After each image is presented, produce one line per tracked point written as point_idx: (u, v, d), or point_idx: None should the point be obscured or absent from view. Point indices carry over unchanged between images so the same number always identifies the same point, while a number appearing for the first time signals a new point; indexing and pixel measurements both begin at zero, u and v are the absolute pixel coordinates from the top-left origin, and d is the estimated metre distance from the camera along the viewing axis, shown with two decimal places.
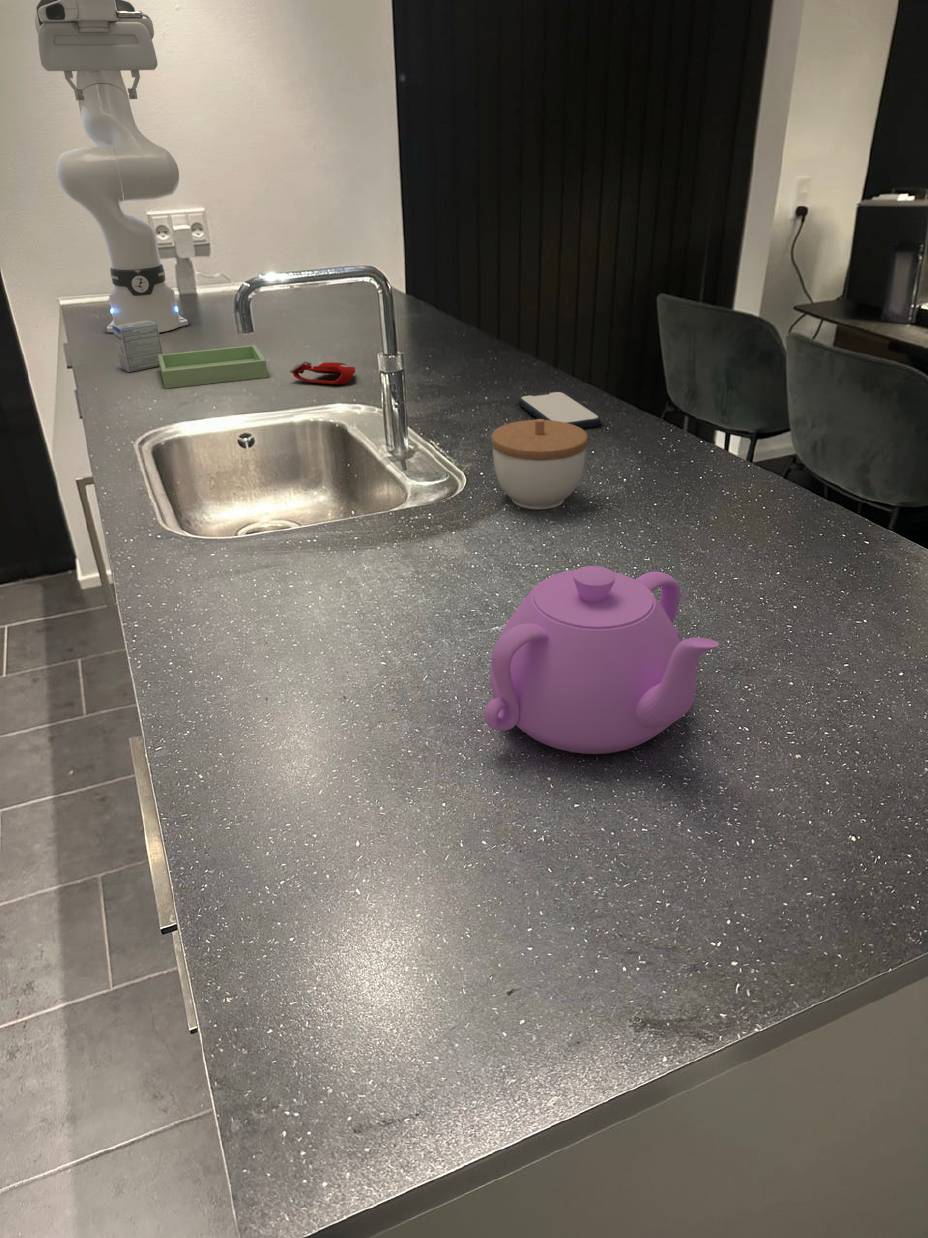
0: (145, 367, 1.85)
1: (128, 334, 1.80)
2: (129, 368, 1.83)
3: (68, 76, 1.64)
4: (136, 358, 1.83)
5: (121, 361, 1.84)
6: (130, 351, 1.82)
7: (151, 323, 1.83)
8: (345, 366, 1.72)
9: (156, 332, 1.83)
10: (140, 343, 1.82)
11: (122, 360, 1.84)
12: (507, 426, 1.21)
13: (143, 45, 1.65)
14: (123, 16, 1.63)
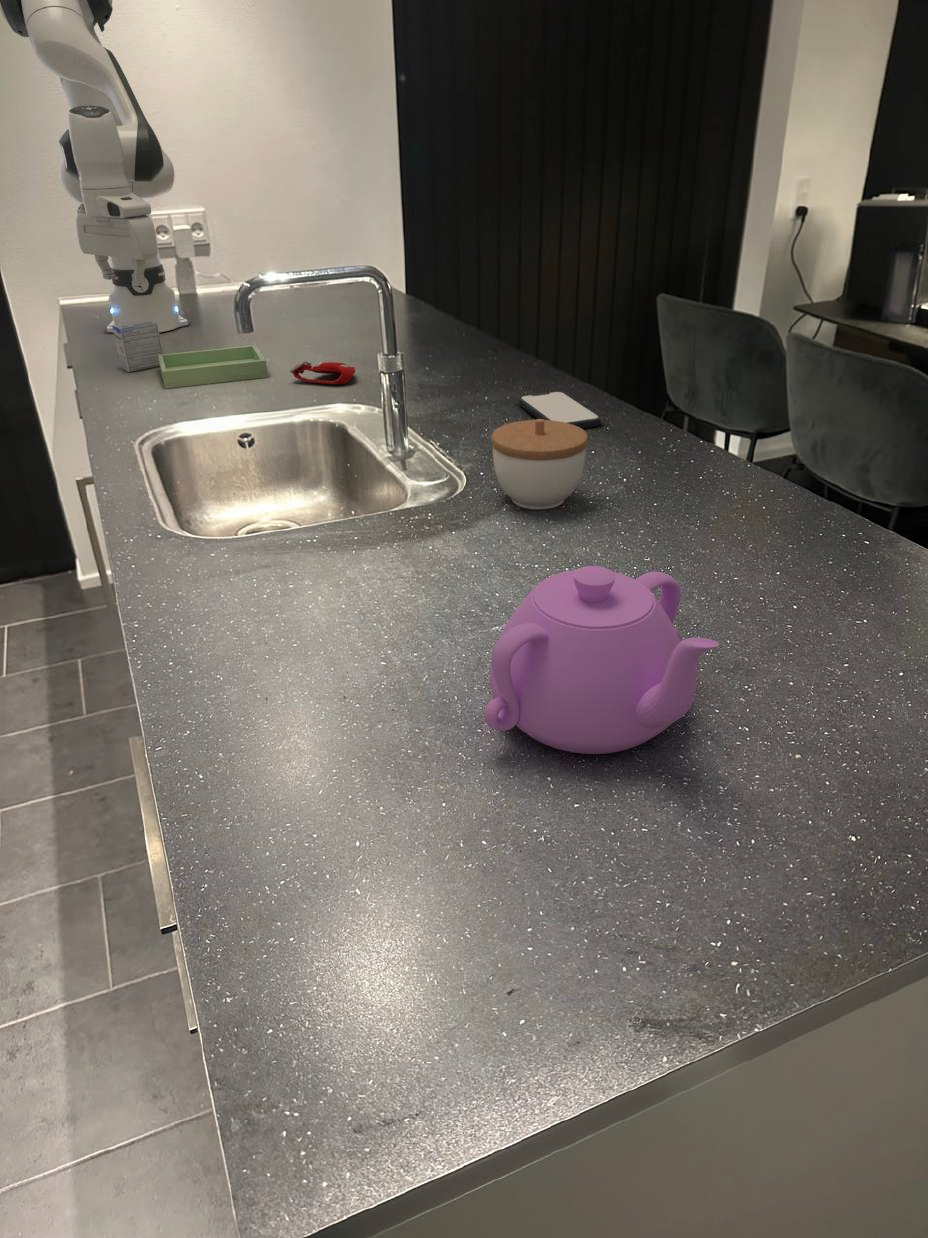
0: (145, 367, 1.85)
1: (128, 334, 1.80)
2: (129, 368, 1.83)
3: None
4: (136, 358, 1.83)
5: (121, 361, 1.84)
6: (130, 351, 1.82)
7: (151, 323, 1.83)
8: (345, 366, 1.72)
9: (156, 332, 1.84)
10: (140, 343, 1.82)
11: (122, 360, 1.84)
12: (507, 426, 1.21)
13: None
14: None
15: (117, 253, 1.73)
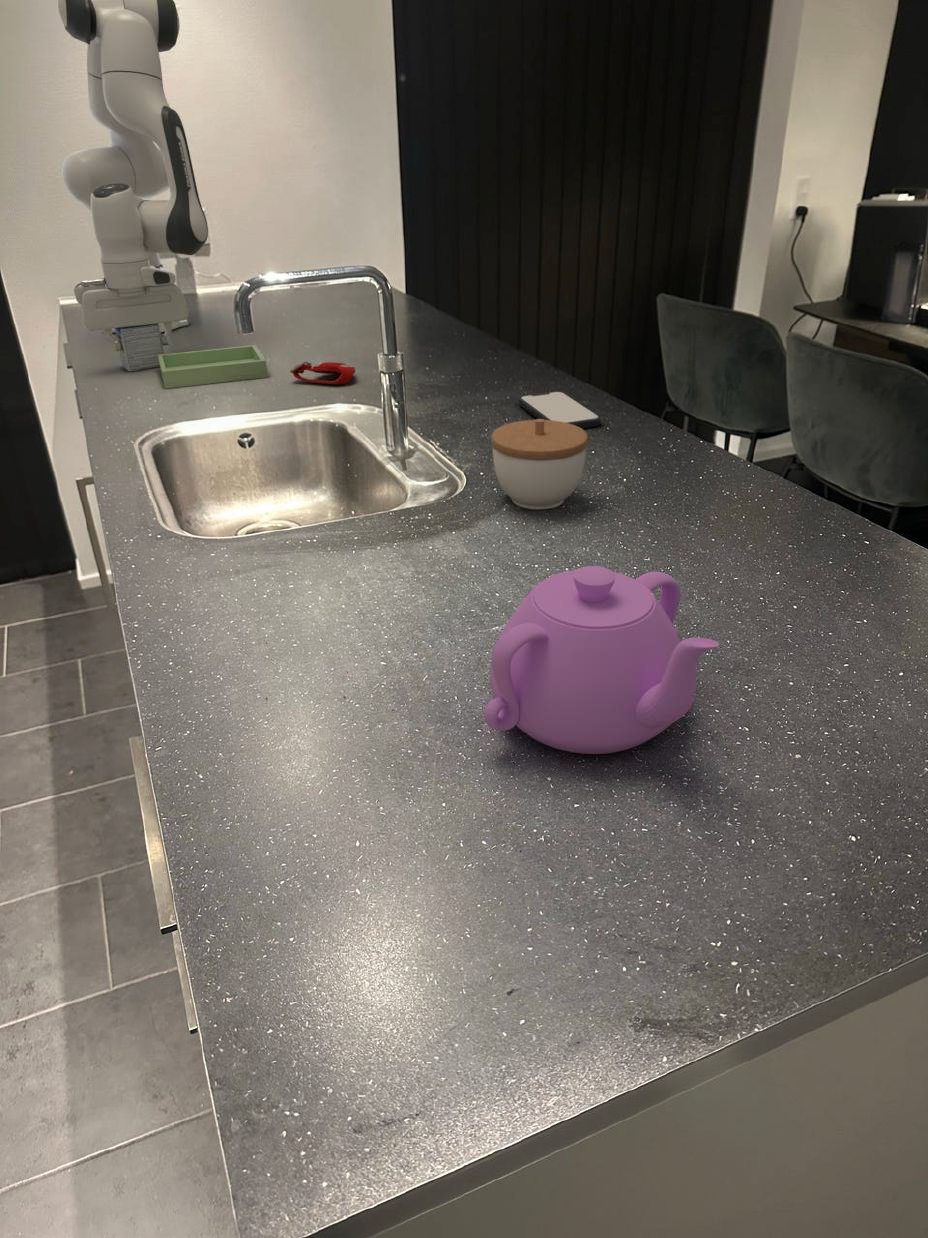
0: (146, 367, 1.85)
1: (129, 334, 1.80)
2: (130, 368, 1.83)
3: None
4: (136, 358, 1.83)
5: (123, 360, 1.85)
6: (130, 351, 1.82)
7: None
8: (345, 366, 1.72)
9: (157, 332, 1.84)
10: (141, 343, 1.83)
11: (123, 360, 1.84)
12: (507, 426, 1.21)
13: None
14: None
15: (149, 320, 1.81)
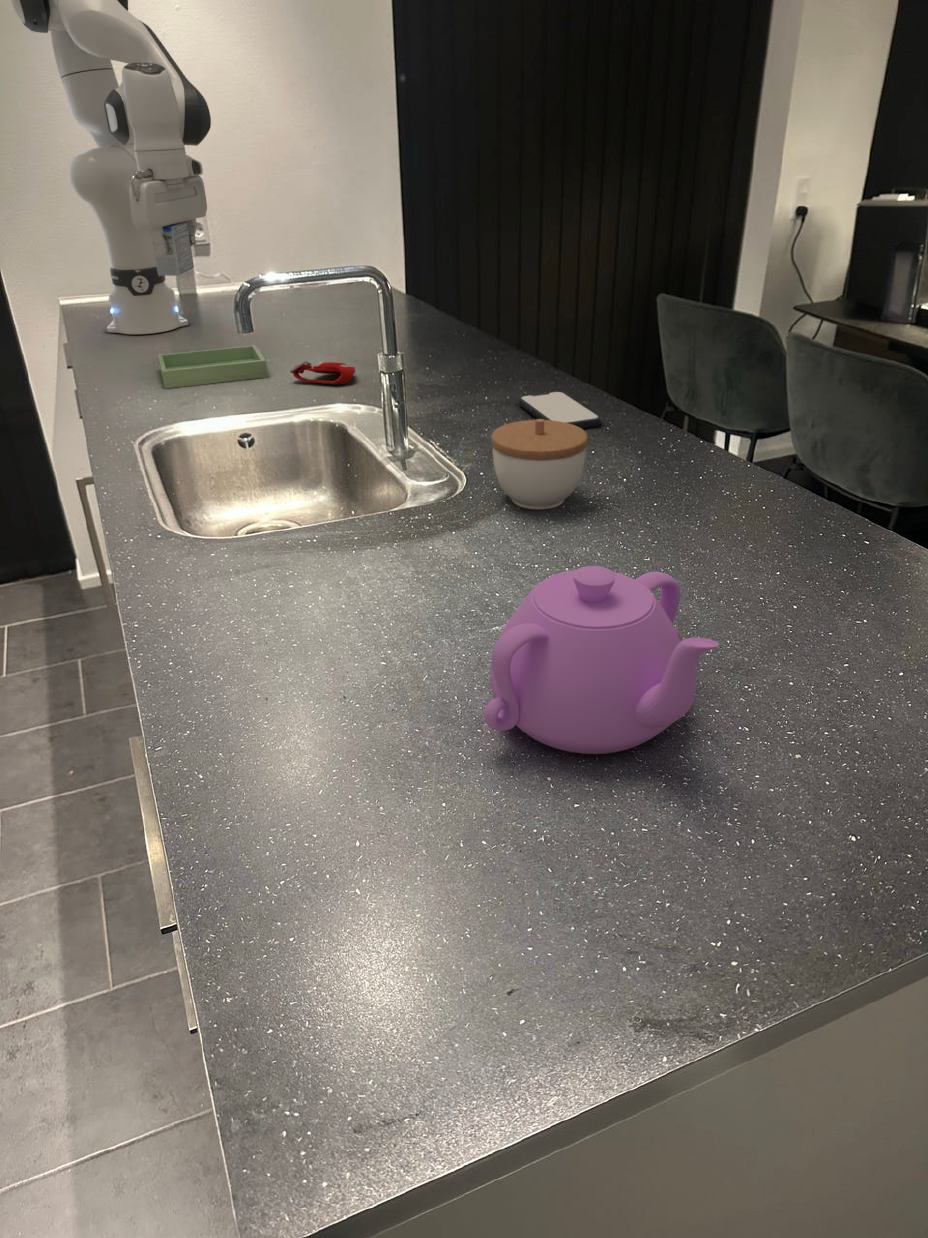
0: (186, 270, 1.72)
1: (176, 232, 1.66)
2: (180, 271, 1.69)
3: None
4: (181, 259, 1.69)
5: (162, 266, 1.68)
6: (178, 251, 1.68)
7: None
8: (345, 366, 1.72)
9: (187, 230, 1.71)
10: (182, 243, 1.69)
11: (166, 264, 1.68)
12: (507, 426, 1.21)
13: None
14: None
15: (187, 216, 1.69)
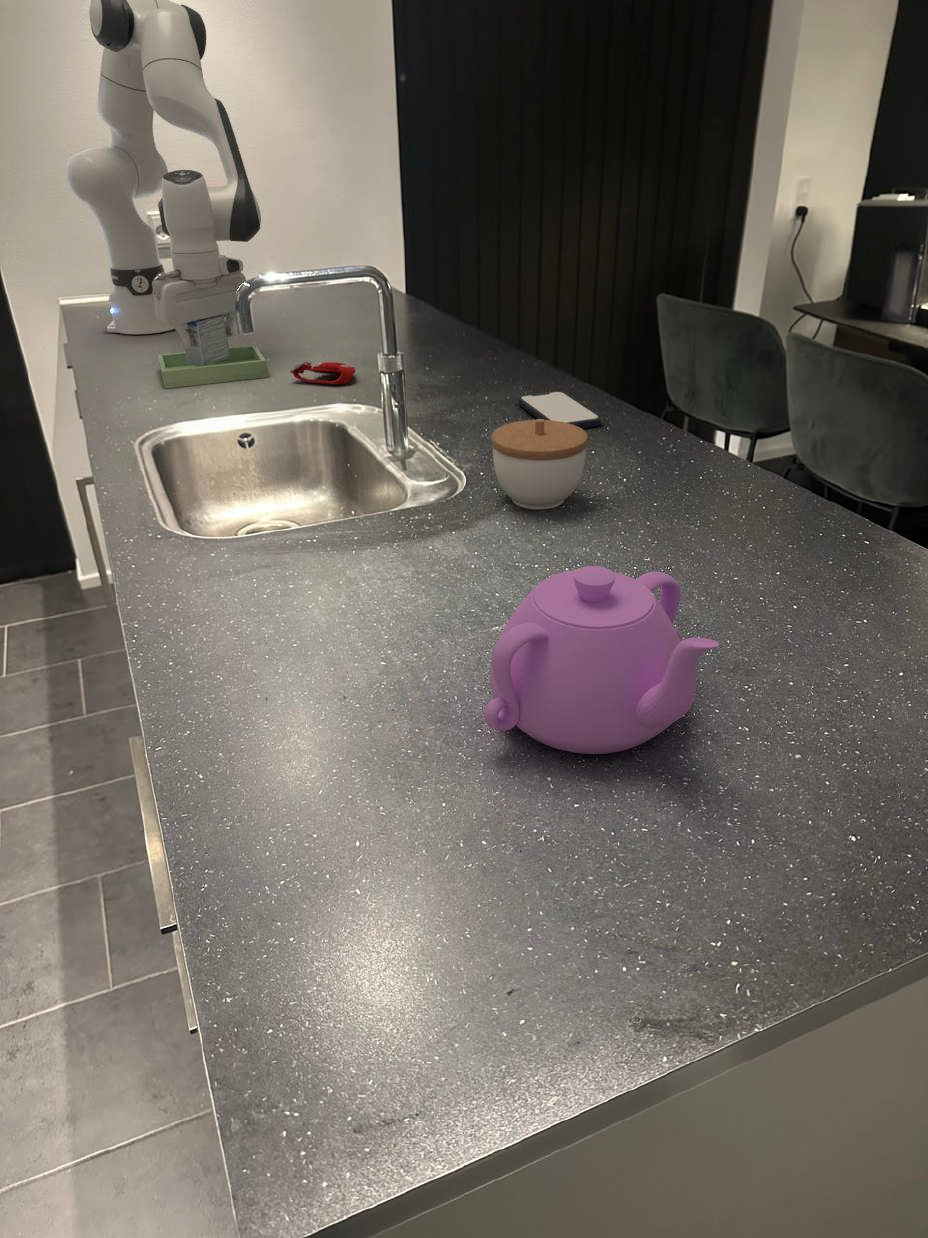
0: (215, 360, 1.79)
1: (203, 326, 1.74)
2: (204, 362, 1.76)
3: None
4: (209, 351, 1.77)
5: (190, 356, 1.77)
6: (204, 344, 1.75)
7: None
8: (345, 366, 1.72)
9: (223, 323, 1.78)
10: (212, 335, 1.76)
11: (193, 355, 1.76)
12: (507, 426, 1.21)
13: None
14: None
15: (220, 311, 1.76)
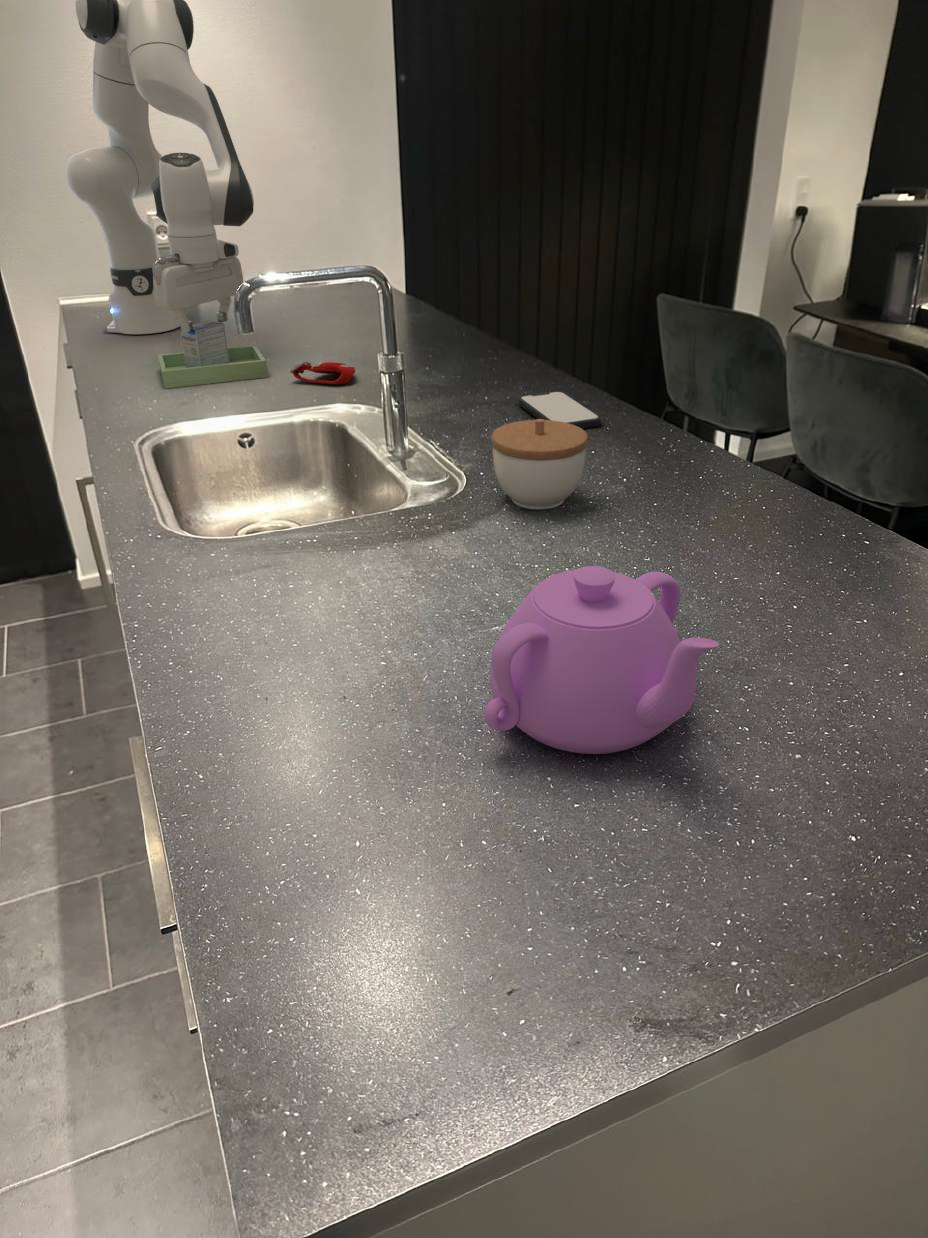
0: None
1: (202, 335, 1.75)
2: None
3: None
4: (207, 359, 1.77)
5: (189, 364, 1.78)
6: (203, 352, 1.76)
7: (218, 323, 1.78)
8: (345, 366, 1.72)
9: (223, 332, 1.79)
10: (211, 344, 1.77)
11: (191, 363, 1.77)
12: (507, 426, 1.21)
13: None
14: None
15: (216, 296, 1.75)
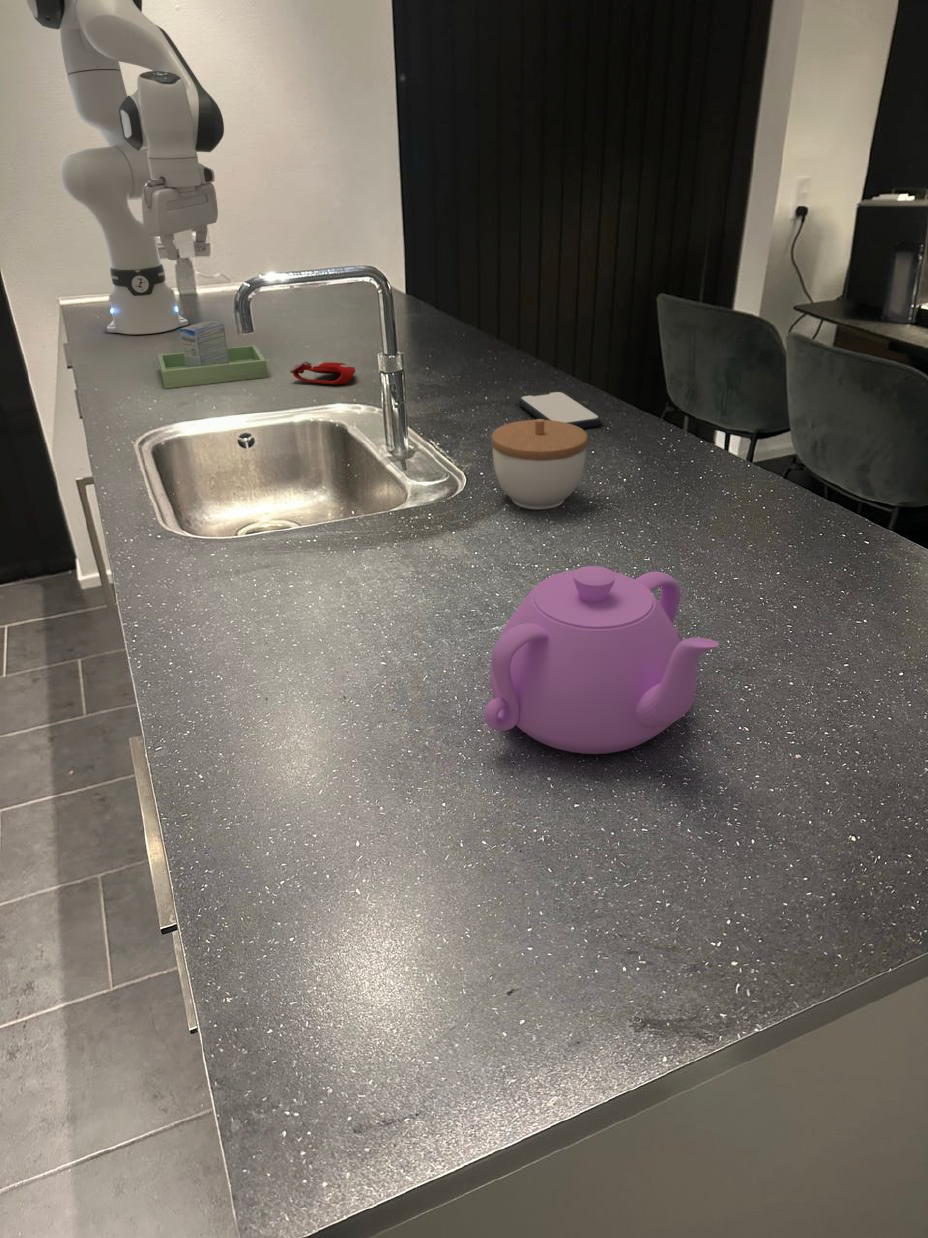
0: None
1: (201, 335, 1.74)
2: None
3: None
4: (207, 360, 1.77)
5: (189, 365, 1.78)
6: (202, 353, 1.76)
7: (217, 323, 1.78)
8: (345, 366, 1.72)
9: (223, 332, 1.79)
10: (211, 344, 1.77)
11: (191, 363, 1.77)
12: (507, 426, 1.21)
13: None
14: None
15: (197, 223, 1.71)
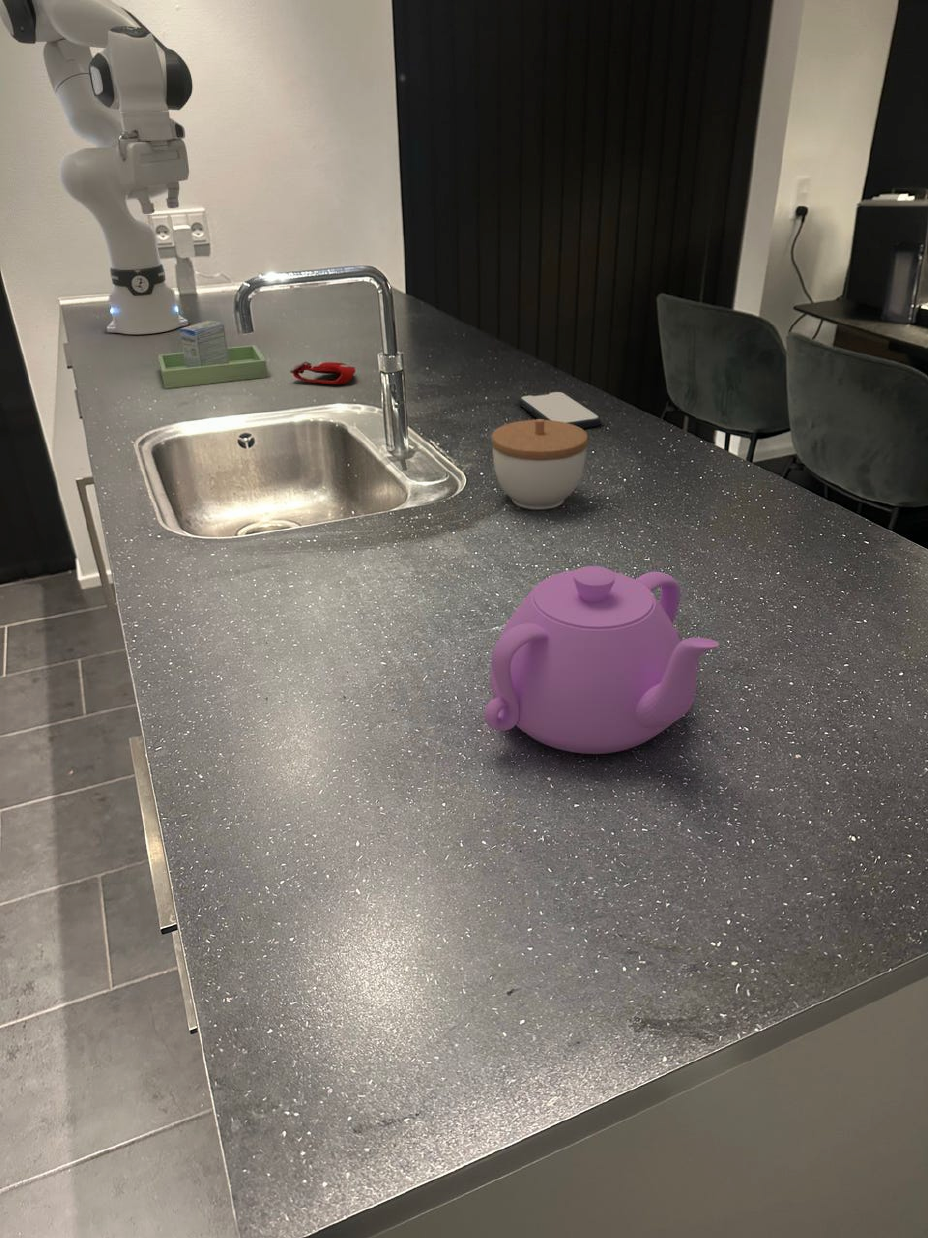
0: None
1: (201, 335, 1.74)
2: None
3: None
4: (207, 360, 1.77)
5: (189, 365, 1.78)
6: (202, 353, 1.76)
7: (217, 323, 1.78)
8: (345, 366, 1.72)
9: (223, 332, 1.79)
10: (211, 344, 1.77)
11: (191, 363, 1.77)
12: (507, 426, 1.21)
13: None
14: None
15: (170, 178, 1.74)
